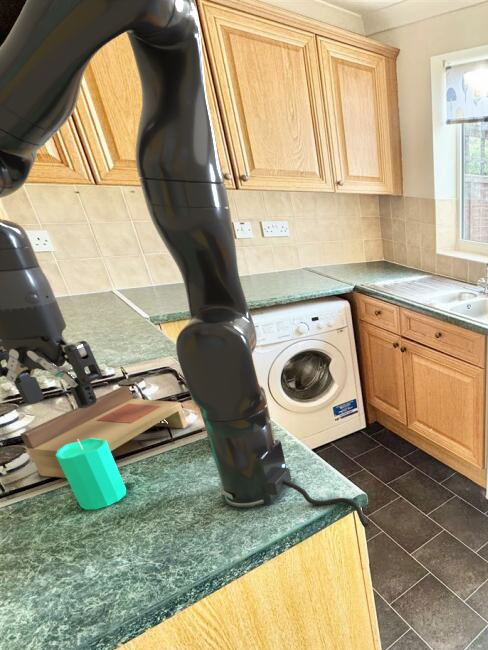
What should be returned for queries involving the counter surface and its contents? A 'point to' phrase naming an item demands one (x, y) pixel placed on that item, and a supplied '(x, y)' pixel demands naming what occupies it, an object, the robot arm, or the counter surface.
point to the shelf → (99, 426)
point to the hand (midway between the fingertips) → (61, 403)
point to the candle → (91, 473)
